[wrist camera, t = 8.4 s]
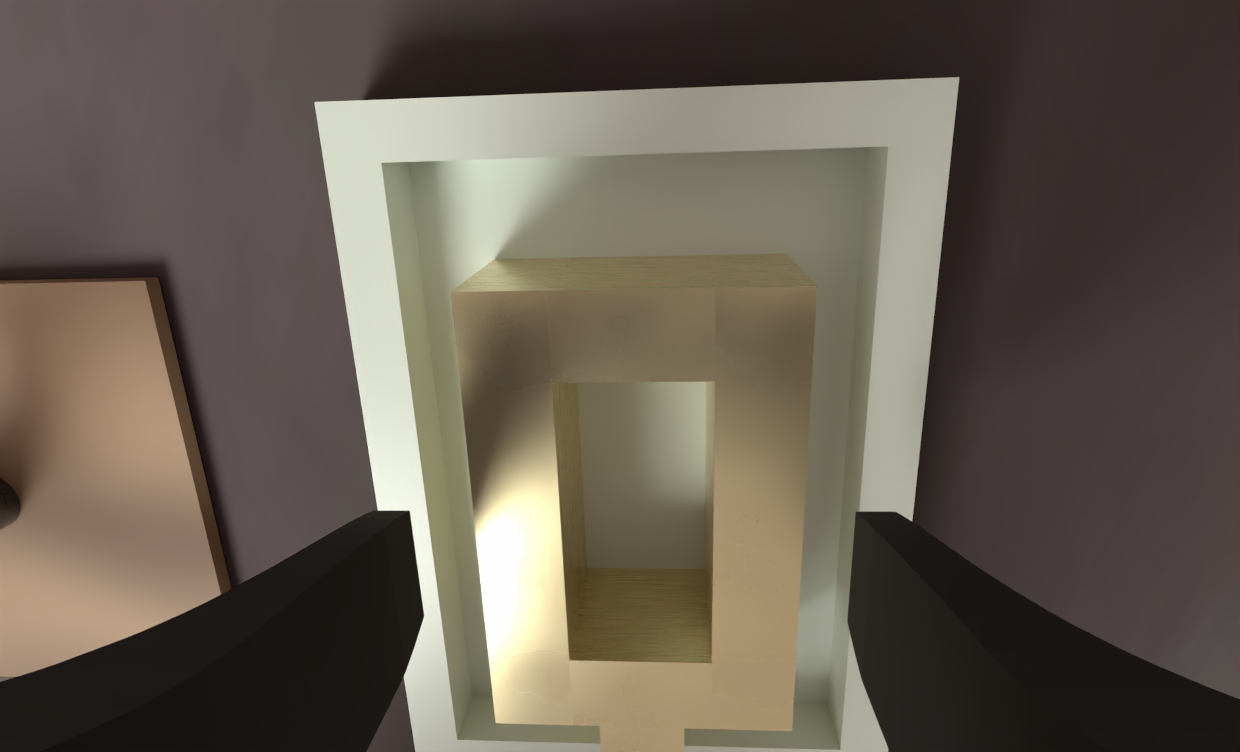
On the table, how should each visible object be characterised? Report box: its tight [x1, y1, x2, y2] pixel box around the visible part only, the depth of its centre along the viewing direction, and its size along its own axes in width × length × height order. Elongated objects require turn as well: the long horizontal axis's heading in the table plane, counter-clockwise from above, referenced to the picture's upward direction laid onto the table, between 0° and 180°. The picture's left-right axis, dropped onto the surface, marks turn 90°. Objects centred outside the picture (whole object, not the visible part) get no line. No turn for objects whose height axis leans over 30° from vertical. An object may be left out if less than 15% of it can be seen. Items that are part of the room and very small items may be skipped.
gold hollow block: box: [450, 254, 817, 752], centre depth 14 cm, size 6×10×3 cm, turn 2°
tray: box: [315, 77, 959, 752], centre depth 15 cm, size 14×10×2 cm
